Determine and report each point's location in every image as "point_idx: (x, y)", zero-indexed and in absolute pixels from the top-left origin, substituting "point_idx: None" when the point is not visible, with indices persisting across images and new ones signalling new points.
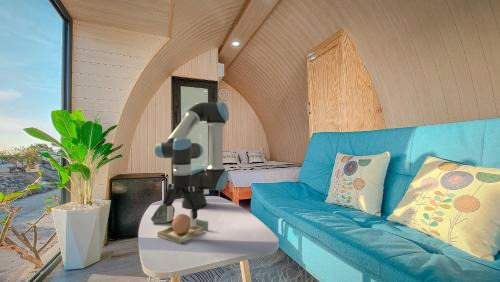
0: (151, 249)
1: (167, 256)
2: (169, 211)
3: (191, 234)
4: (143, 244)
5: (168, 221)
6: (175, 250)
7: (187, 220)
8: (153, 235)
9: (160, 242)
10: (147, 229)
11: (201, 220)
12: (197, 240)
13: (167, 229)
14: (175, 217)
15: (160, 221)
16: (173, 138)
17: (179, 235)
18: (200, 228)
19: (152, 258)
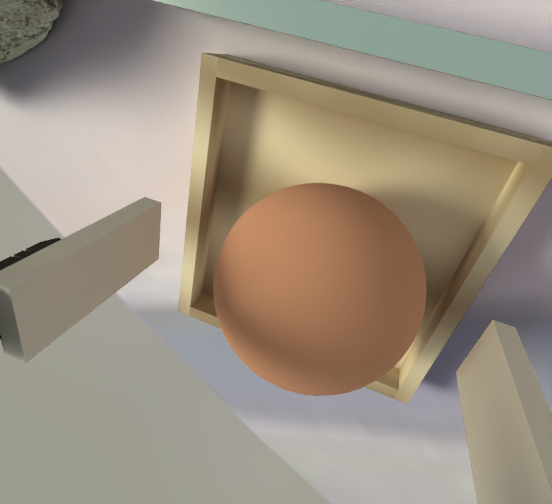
0: (275, 419)
1: (397, 478)
2: (83, 301)
3: (459, 314)
4: (200, 376)
5: (51, 19)
6: (411, 437)
7: (397, 359)
8: (160, 277)
9: None
10: (53, 198)
11: (530, 73)
12: (527, 325)
13: (200, 245)
14: (233, 349)
15: (5, 60)
16: None
17: None
18: (530, 195)
19: (335, 482)
